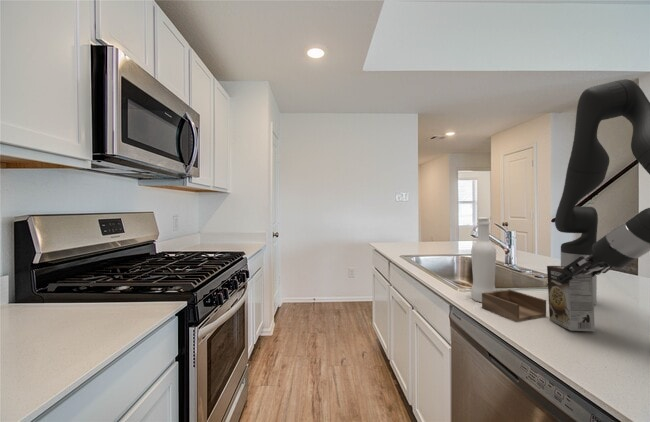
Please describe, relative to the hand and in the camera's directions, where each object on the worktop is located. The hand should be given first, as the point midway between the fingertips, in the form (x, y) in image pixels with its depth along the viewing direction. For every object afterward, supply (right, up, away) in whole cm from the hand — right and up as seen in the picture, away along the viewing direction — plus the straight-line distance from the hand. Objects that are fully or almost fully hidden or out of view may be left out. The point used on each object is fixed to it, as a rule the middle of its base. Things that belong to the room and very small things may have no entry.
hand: (570, 280), depth 82 cm
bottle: (-11, -13, +24) cm, 29 cm away
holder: (-9, -13, +12) cm, 20 cm away
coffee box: (0, -13, 0) cm, 13 cm away
